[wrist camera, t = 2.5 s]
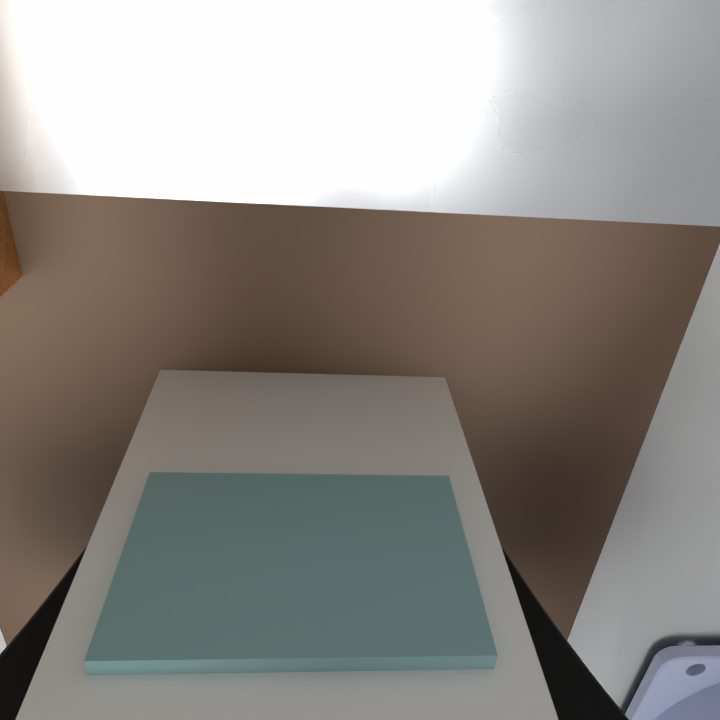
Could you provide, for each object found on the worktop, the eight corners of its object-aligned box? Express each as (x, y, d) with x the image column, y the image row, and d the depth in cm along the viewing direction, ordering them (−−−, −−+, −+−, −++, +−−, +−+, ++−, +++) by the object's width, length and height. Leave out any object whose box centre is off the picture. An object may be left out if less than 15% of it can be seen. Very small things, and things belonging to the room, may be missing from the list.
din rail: (896, -217, 6) (1546, -450, 3) (696, 301, 10) (909, 477, 6) (-358, -366, 5) (-1515, -976, 2) (-130, 270, 8) (-431, 458, 5)
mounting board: (836, -293, 7) (948, -355, 6) (539, 601, 15) (560, 657, 14) (-271, -437, 6) (-424, -546, 5) (40, 604, 14) (13, 665, 13)
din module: (446, 366, 10) (565, 710, 5) (400, 645, 14) (445, 995, 9) (159, 358, 9) (3, 721, 5) (192, 648, 13) (122, 1015, 8)
